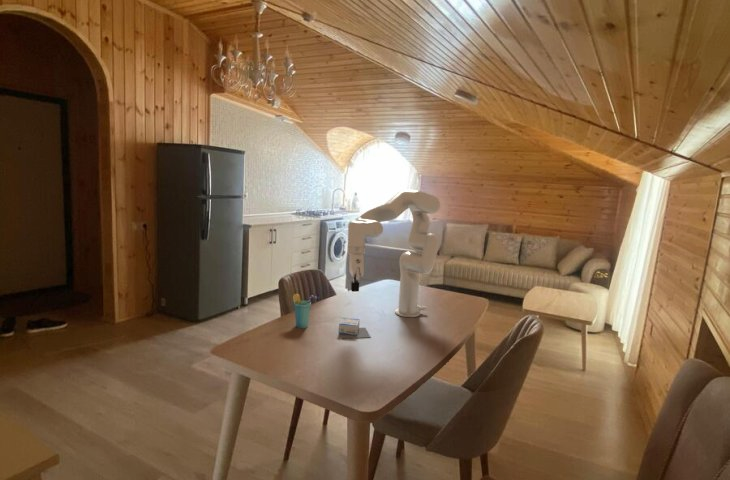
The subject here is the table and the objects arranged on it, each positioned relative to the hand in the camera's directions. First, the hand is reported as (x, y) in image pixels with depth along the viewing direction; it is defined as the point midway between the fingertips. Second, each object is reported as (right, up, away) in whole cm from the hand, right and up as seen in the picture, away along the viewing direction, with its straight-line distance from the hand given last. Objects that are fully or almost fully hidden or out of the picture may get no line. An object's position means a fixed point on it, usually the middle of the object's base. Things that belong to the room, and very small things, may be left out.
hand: (355, 290), depth 172 cm
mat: (0, -18, -3) cm, 18 cm away
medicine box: (-2, -15, +3) cm, 15 cm away
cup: (-23, -16, +2) cm, 28 cm away
